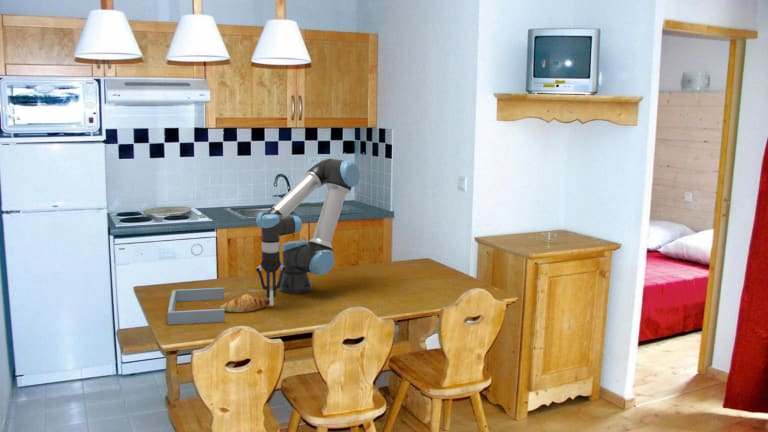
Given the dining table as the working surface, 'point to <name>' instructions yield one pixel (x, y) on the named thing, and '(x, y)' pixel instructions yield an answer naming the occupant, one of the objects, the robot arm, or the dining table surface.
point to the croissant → (244, 304)
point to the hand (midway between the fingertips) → (271, 304)
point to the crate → (195, 315)
